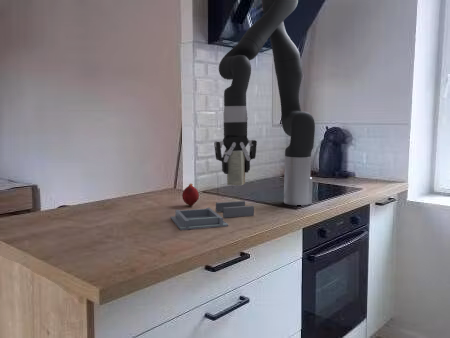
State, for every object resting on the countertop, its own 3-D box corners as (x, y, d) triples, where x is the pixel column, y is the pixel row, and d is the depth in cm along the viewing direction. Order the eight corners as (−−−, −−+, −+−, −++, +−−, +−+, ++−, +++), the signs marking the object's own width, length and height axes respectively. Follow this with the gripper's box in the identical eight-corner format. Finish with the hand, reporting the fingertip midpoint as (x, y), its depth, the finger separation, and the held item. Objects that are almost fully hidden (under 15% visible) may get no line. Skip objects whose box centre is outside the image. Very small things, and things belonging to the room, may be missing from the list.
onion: (196, 208, 141) (196, 185, 140) (180, 207, 142) (180, 184, 141) (200, 204, 147) (200, 182, 146) (185, 203, 148) (185, 182, 147)
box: (245, 183, 134) (245, 149, 132) (241, 186, 130) (242, 151, 128) (230, 182, 135) (230, 149, 134) (226, 185, 131) (226, 150, 130)
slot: (243, 209, 140) (243, 200, 139) (253, 215, 131) (253, 206, 131) (215, 211, 136) (215, 202, 136) (224, 217, 128) (224, 208, 128)
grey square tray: (213, 214, 132) (213, 206, 131) (228, 226, 118) (228, 217, 118) (170, 218, 127) (170, 209, 127) (180, 230, 114) (180, 220, 114)
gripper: (251, 120, 136) (252, 170, 138) (210, 121, 131) (211, 172, 133) (261, 120, 129) (261, 173, 131) (217, 121, 124) (218, 176, 126)
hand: (236, 172), depth 132 cm, fingers closed on box, 6 cm apart
